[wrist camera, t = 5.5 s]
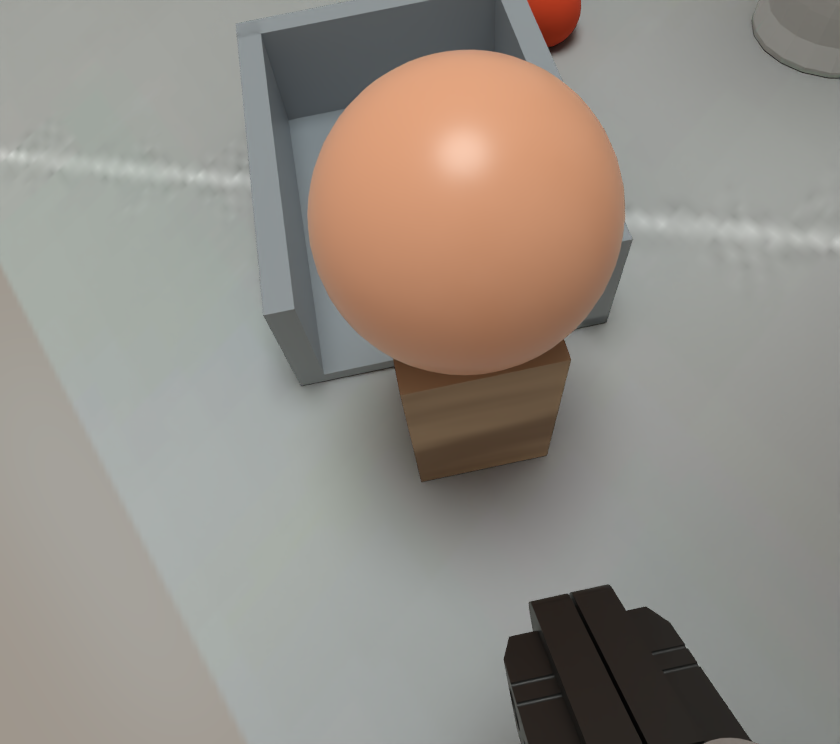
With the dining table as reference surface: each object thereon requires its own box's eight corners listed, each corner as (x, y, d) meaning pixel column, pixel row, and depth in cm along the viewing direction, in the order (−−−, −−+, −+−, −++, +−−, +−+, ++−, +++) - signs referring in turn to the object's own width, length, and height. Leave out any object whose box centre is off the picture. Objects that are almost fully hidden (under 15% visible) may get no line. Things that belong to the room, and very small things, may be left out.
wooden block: (546, 455, 23) (571, 359, 17) (421, 481, 23) (400, 395, 17) (513, 347, 25) (525, 227, 19) (399, 371, 25) (373, 258, 19)
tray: (606, 322, 26) (632, 239, 21) (301, 385, 25) (263, 315, 21) (508, 70, 33) (512, -32, 28) (269, 118, 32) (235, 23, 28)
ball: (528, 178, 20) (549, -63, 14) (646, 365, 17) (743, 159, 11) (309, 255, 19) (229, 37, 13) (389, 465, 16) (333, 307, 10)
